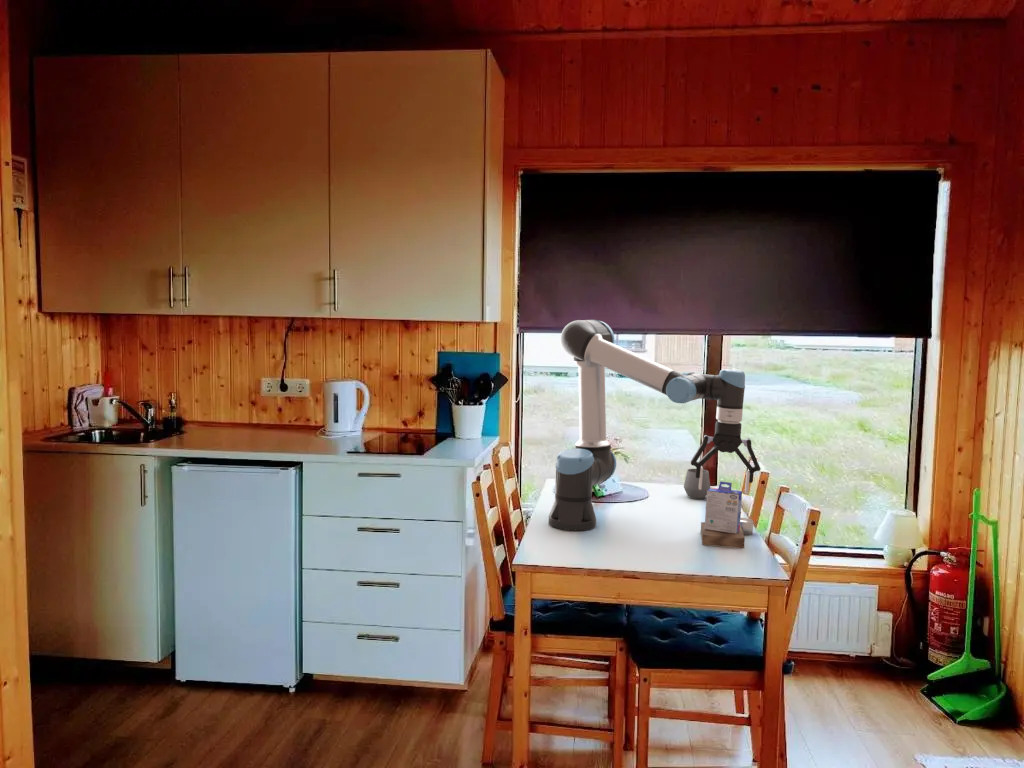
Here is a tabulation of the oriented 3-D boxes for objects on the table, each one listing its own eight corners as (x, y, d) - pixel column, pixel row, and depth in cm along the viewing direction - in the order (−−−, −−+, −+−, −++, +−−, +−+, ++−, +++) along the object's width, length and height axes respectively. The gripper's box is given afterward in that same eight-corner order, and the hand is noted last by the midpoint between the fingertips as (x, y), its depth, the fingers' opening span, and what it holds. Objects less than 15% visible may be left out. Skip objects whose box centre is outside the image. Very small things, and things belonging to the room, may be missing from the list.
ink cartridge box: (740, 530, 244) (743, 483, 242) (737, 534, 239) (740, 487, 237) (707, 525, 248) (710, 479, 246) (704, 529, 243) (706, 482, 241)
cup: (678, 494, 298) (680, 468, 297) (700, 493, 301) (702, 467, 300) (691, 501, 290) (693, 474, 288) (714, 499, 292) (716, 473, 291)
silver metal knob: (733, 534, 250) (734, 522, 249) (732, 529, 255) (732, 516, 255) (753, 536, 248) (754, 523, 248) (751, 530, 254) (752, 518, 254)
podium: (702, 544, 238) (702, 534, 238) (700, 531, 252) (701, 522, 251) (744, 548, 236) (744, 538, 235) (740, 534, 249) (740, 525, 249)
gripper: (686, 420, 238) (681, 489, 241) (773, 426, 234) (767, 497, 236) (685, 416, 246) (680, 484, 248) (770, 422, 241) (764, 491, 243)
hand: (723, 490), depth 242 cm, fingers open, 13 cm apart
